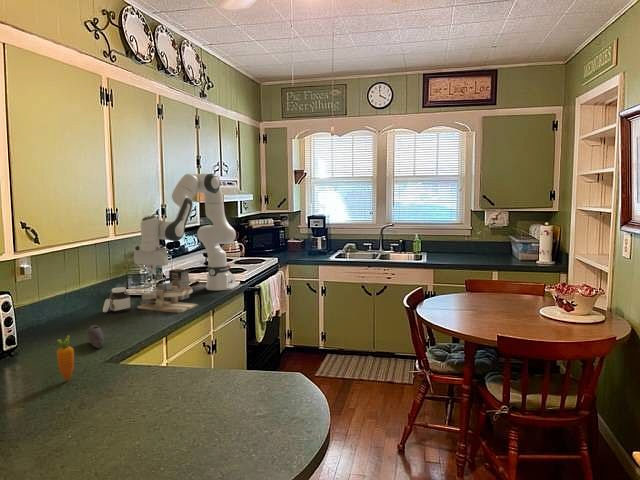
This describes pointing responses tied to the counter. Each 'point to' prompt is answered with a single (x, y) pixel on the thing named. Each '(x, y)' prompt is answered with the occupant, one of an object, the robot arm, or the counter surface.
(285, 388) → the counter surface
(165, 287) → the block
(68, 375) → the carrot
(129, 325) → the counter surface
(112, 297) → the spread jar
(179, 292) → the beige long grooved bar
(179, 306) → the pivot stand
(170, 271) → the coffee box
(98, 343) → the perforated stone tool
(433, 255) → the counter surface
